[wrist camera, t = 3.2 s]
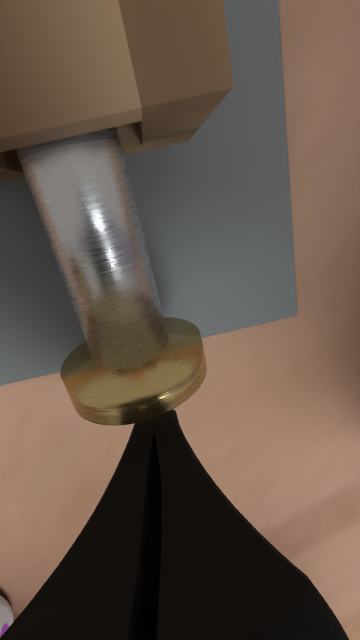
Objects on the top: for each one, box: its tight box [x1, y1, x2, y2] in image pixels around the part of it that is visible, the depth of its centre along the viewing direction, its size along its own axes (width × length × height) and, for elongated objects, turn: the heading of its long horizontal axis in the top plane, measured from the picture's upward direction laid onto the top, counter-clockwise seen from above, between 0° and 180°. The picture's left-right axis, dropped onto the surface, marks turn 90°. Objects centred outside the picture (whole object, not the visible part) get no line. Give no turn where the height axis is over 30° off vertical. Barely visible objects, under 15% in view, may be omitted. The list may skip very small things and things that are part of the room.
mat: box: [0, 0, 297, 386], centre depth 8 cm, size 12×19×1 cm, turn 12°
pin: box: [15, 127, 207, 425], centre depth 7 cm, size 4×12×4 cm, turn 12°
